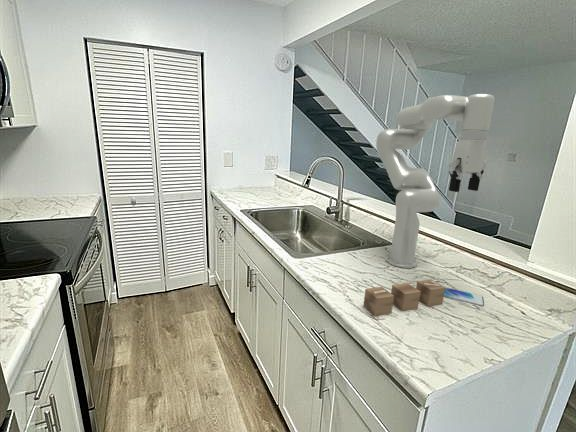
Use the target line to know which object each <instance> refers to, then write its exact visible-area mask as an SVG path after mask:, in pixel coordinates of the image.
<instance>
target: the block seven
mask: <svg viewBox="0 0 576 432" xmlns="http://www.w3.org/2000/svg"><path fill="white" fill-rule="evenodd" d="M445 287H446V286H444V285H442V284H440V283H439V282H437V281H435V280H433V279H432V278H431V279H424V280H417V281H416V287H415V288H416V289H418V290H419V291H421V293H420V299H419V303H422V304H423V305H424V306H425V307H434V306H440V305H443V301H444V298H445V297H444V293H445Z"/></svg>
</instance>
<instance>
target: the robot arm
mask: <svg viewBox="0 0 576 432" xmlns="http://www.w3.org/2000/svg"><path fill="white" fill-rule="evenodd" d="M495 101H496V99H495V96H494V95H493V94H488V93H476V94H474V93H473V94H471V95H469V96H462V95H456V94H455V95H454V94H453V95H452V94H442V95H438V96H433V97H430V98H427V99H425V100H424V101H423V102H422V103H420V104H417V105H412V106H408V107H407V106H406V107H404V108H403V109H401V110H400V111H399V112H398V114H396V115H397V116H396V123H397V125H398V126H399V127H401V128H400V129H399V128H387V129H384V130H383V129H382V130H381V131H380V132H379V133H378V135H377V137H376V142H375V143H376V145H375V146H376V147H375V148H376V152H377V154H378V157H379V159H380V161H381V162H382V163H383V165H384V168H385V170H386V172H387V175H388V178H389V180H390V182H391V184H392V187H393V188H394V189H395V190H397V191H399V192H398V193H397V194H396V196H395V221H394V228H393V229H394V230H393V235H392V236H393V237H392V242H391V246H389V248H388V247H387V248H386V251H387V252H388V253H389V254H388V255H387V256H385V261H386V262H387V263H388V264H390V265H392V266H395V267H398V268H402V269H403V268H404V269H414V268H415V267H417V266H418V261H417V260H416V259H415V255H416V250H417V244H418V239H419V232H420V226H421V225H420V220H419V217H418V213H430V212H434V211H437V209H439V207H440V204H441V199H440V198H441V197H440V195H439V192H438V189H437V188H436V186H435V184H434V181H433V179H432V176H431V175H430V174H429V172H428V171H427V170H425V169H424V168H420V167H411V166H409V165H408V164H407V162H406V159H405V157H404V156H403V155H402V154H401V153H400V152H399V151H398V150H405V151H407V150H412V149H415V148H416V146H418V145H419V144H420V142H421V141H422V140H423V138H424V137H425V136H426V135H427V133H428V131H429V130H430V129H431V128H432V125H434V124H435V123H436V122H437V120H445V121H456V122H457V121H458V122H460V121H461V128H460V133H459V140H458V141H457V142H456V145H455V148H454V152H453V155H452V160H451V163H450V164H449V165H448V170H449V171H448V174H449V175H450V176H449V179H450V181H449V187H448V191H450V192H454V193H459V192H460V189H461V182H462V179H461V178H462V176H463V175H464V174H470V177H469V180H468V186H467V190H468V191H474V192H478V191H479V186H480V181H481V179H482V177H483V174H484V172H485V169H486V167H487V165H486V163H485V156H486V150H487V149H486V148H487V147H486V146H487V145H486V144H487V142H488V137H489V131H490V127H491V121H492V116H493V111H494V106H495ZM413 267H414V268H413Z"/></svg>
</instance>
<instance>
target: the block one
mask: <svg viewBox="0 0 576 432" xmlns="http://www.w3.org/2000/svg"><path fill="white" fill-rule="evenodd" d="M393 300H394V295H392V294H391V291H388V290H387V289H386V288H385V287H383V286H378V287H372V288H371V287H370V288H365V290H364V299H363V308H365V309H366V310H367V311H368V312H369V313H370V314H372V316H374V317H379V316H380V317H381V316H384V315H389V314H390V315H391V314H392V311H393Z"/></svg>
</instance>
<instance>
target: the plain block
mask: <svg viewBox="0 0 576 432" xmlns="http://www.w3.org/2000/svg"><path fill="white" fill-rule="evenodd" d="M390 293H391V294H392V295H394V300H393V305H394V307H396V308H397V309H399V310H400V311H401V312H408V311H411V310H413V311H414V310H417V309H419V303H420V301H419V299H420V293H421V291H419V290H418V289H416V287H414V286H413V285H412V284H410V283H408V282H405V283H397V284H392V286H391V291H390Z"/></svg>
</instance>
